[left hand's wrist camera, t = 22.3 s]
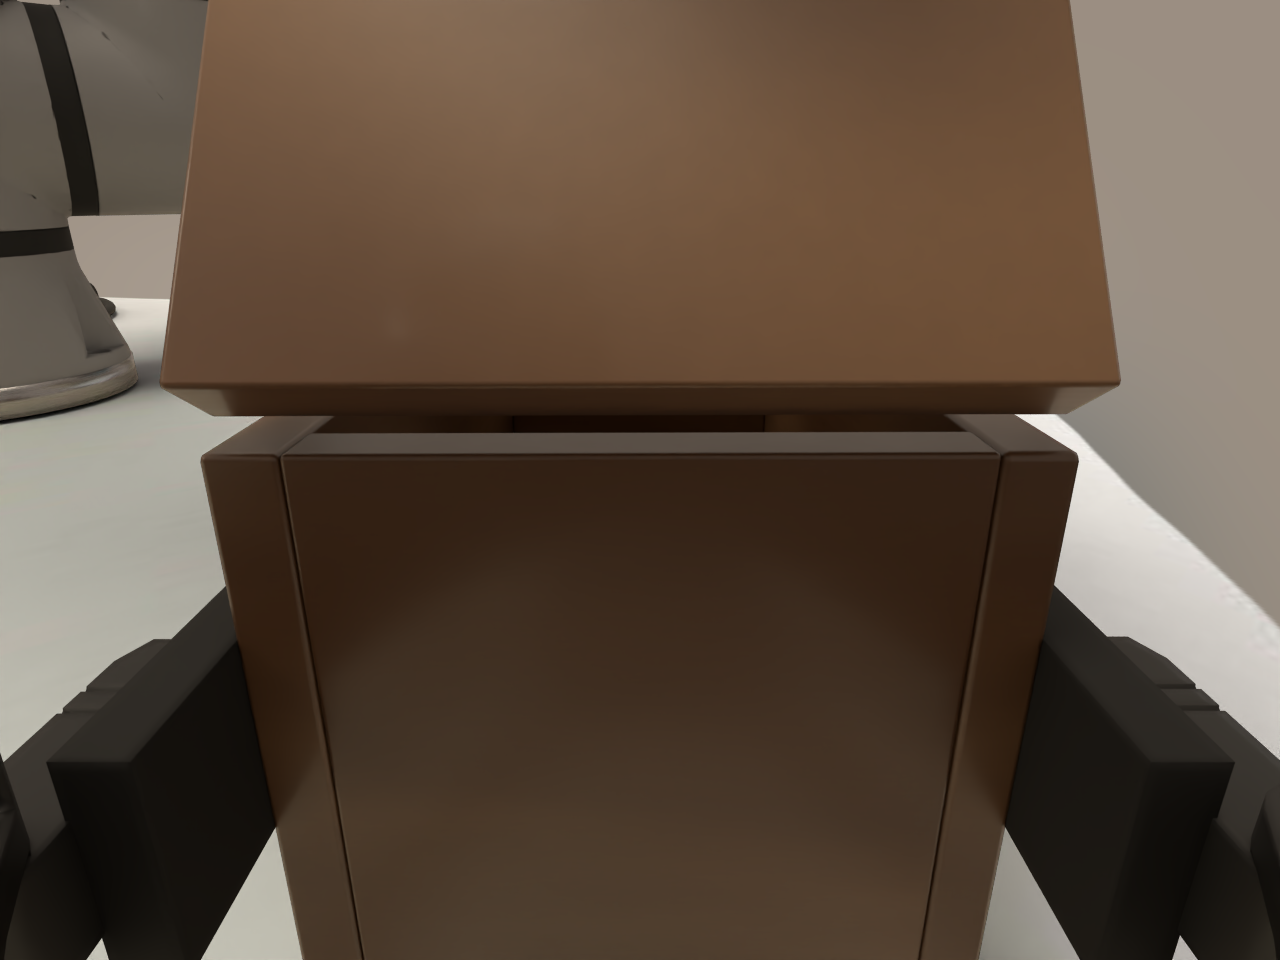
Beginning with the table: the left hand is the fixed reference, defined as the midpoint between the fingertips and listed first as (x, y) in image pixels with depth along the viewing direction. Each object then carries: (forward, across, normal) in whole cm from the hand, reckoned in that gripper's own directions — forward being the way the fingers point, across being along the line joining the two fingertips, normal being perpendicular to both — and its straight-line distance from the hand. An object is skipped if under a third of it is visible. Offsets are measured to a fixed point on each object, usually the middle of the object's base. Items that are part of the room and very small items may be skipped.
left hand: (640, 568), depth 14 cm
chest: (+3, 0, -6) cm, 7 cm away
